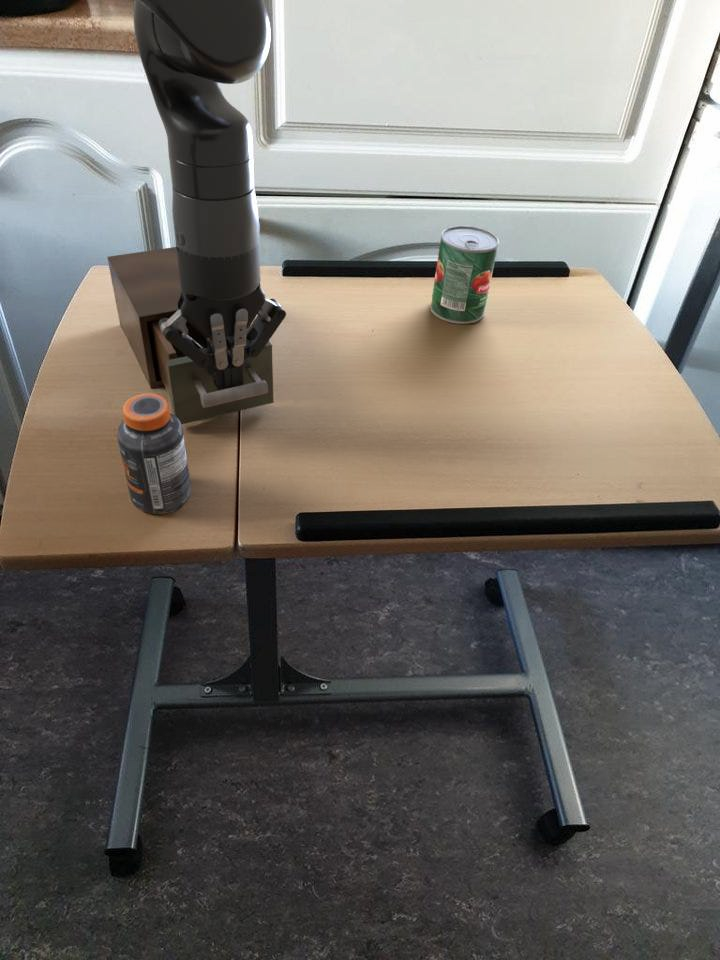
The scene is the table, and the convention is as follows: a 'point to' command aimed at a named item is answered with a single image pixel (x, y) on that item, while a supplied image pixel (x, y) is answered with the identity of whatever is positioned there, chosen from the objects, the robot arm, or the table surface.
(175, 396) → the drawer
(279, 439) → the table surface
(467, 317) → the canned tomato
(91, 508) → the table surface
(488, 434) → the table surface
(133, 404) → the pill bottle
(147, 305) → the cabinet
